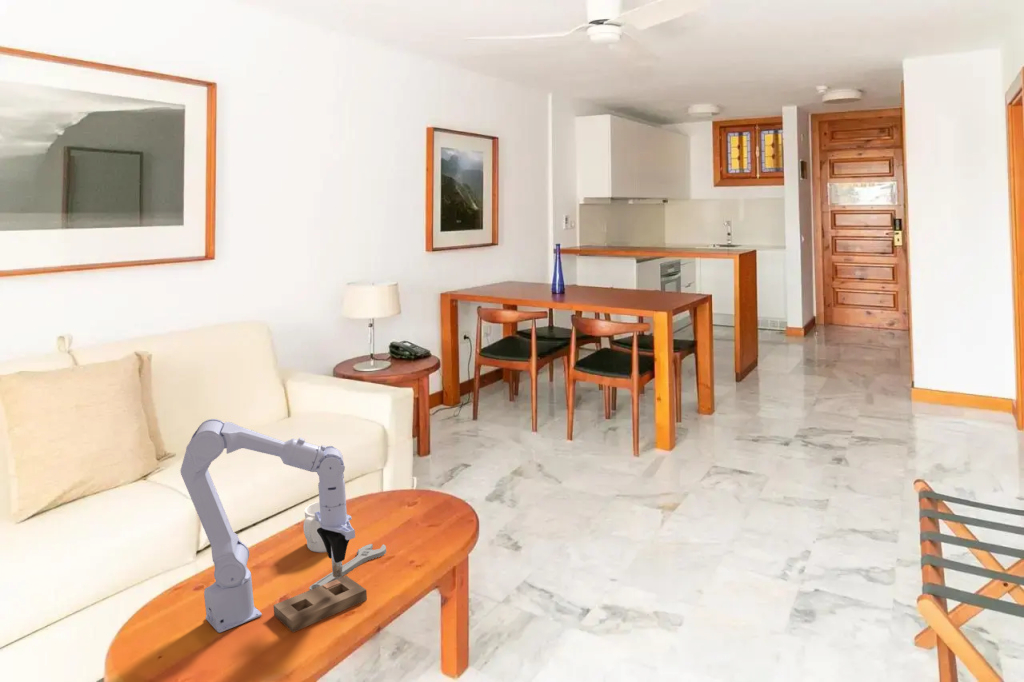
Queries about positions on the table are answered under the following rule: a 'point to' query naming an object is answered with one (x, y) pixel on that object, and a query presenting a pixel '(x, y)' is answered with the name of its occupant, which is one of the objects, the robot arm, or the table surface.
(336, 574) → the steel pin
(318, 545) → the mug
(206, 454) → the robot arm
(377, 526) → the table surface
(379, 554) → the adjustable wrench
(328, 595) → the dock board
